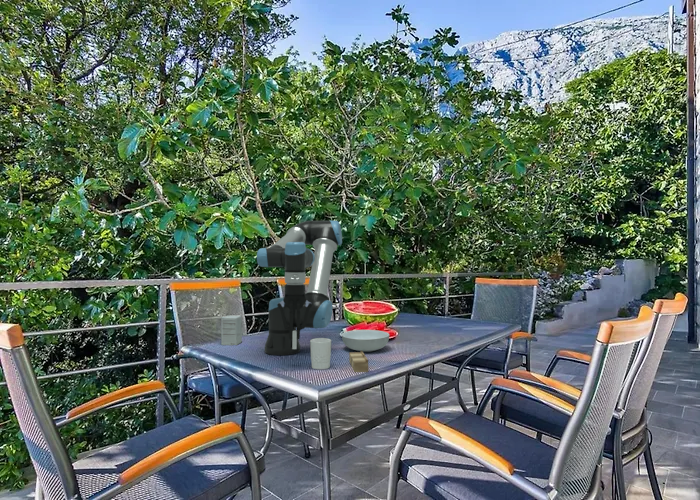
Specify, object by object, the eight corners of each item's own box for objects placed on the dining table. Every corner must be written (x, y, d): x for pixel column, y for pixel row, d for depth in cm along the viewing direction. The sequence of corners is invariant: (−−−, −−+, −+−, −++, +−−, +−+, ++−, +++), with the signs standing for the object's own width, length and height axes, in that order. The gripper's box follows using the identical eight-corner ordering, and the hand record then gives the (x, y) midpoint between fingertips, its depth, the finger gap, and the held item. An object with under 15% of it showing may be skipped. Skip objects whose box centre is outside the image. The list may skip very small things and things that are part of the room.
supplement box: (227, 342, 203) (227, 315, 203) (242, 342, 202) (242, 315, 202) (220, 345, 195) (220, 317, 195) (236, 345, 194) (236, 317, 195)
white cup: (306, 366, 160) (306, 339, 160) (325, 363, 164) (325, 337, 164) (315, 371, 153) (315, 343, 153) (335, 368, 157) (335, 341, 157)
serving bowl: (337, 345, 196) (337, 330, 196) (381, 343, 200) (381, 328, 200) (347, 356, 175) (347, 339, 175) (395, 353, 180) (396, 337, 180)
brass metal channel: (349, 361, 167) (349, 350, 167) (362, 361, 167) (362, 350, 167) (354, 372, 152) (354, 360, 152) (368, 371, 152) (368, 360, 152)
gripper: (276, 284, 153) (275, 350, 152) (313, 284, 155) (312, 350, 154) (277, 283, 160) (277, 346, 160) (312, 283, 162) (312, 346, 161)
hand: (294, 348), depth 157 cm, fingers closed
